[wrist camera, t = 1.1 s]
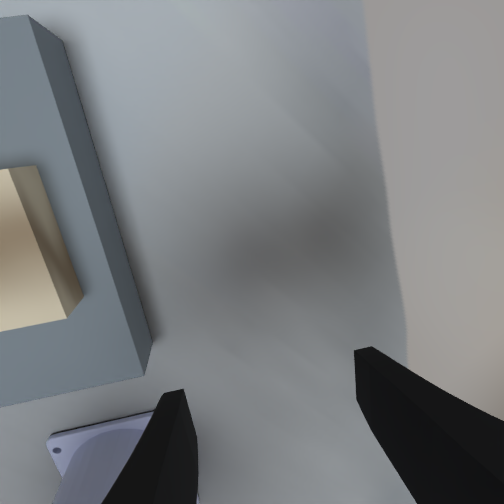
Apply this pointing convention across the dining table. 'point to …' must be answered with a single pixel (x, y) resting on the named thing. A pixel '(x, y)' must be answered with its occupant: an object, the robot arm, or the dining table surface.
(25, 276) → the birch tile
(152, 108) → the dining table surface
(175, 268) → the dining table surface
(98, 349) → the bench plate
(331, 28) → the dining table surface
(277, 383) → the dining table surface
